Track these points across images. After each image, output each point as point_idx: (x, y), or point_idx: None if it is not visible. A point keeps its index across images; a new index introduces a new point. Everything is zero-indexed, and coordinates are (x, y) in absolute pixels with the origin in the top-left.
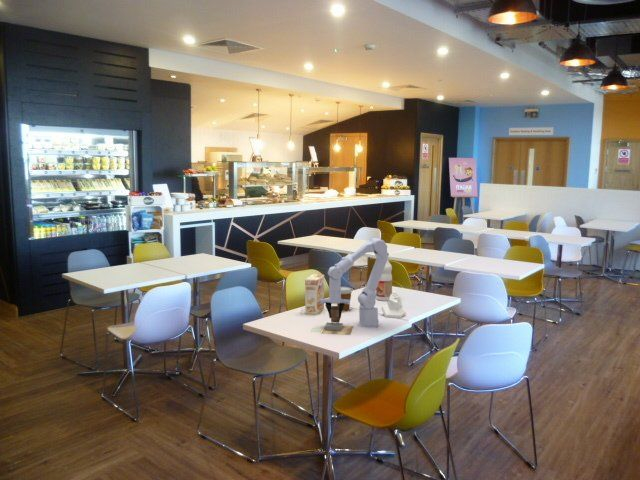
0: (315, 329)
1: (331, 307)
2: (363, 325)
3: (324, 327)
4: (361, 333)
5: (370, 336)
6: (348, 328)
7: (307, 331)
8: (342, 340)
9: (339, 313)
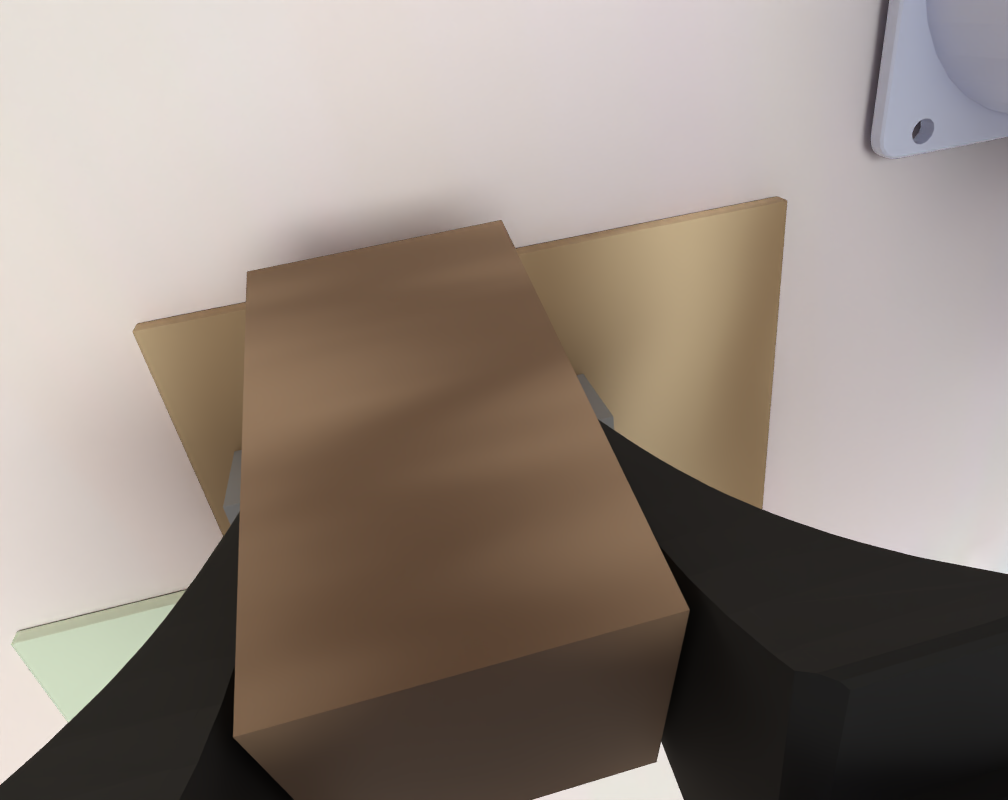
0: (109, 662)
1: (298, 791)
2: (995, 119)
3: (212, 507)
4: (897, 485)
5: (999, 541)
6: (697, 390)
7: (12, 740)
8: (665, 771)
9: None
